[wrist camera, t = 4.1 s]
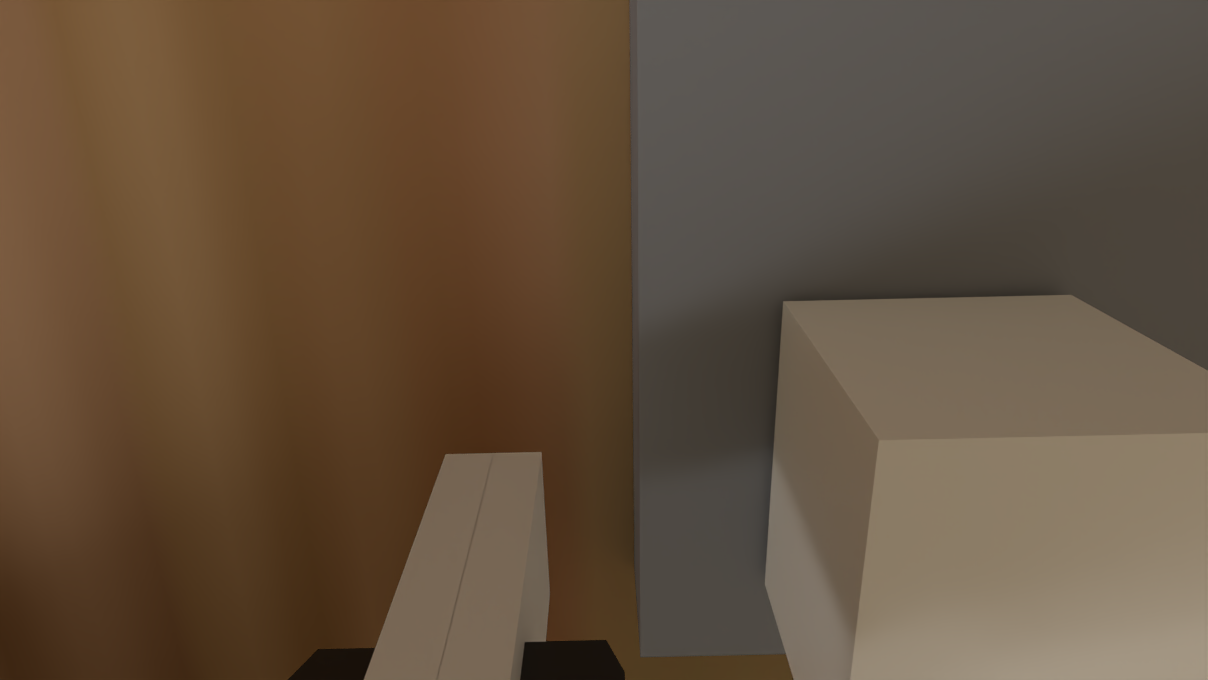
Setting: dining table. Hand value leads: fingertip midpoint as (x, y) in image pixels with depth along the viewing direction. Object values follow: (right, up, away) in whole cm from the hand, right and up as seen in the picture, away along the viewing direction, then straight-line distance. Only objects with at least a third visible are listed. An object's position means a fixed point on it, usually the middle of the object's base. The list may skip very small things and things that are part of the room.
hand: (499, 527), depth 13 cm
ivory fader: (+7, +1, +2) cm, 8 cm away
